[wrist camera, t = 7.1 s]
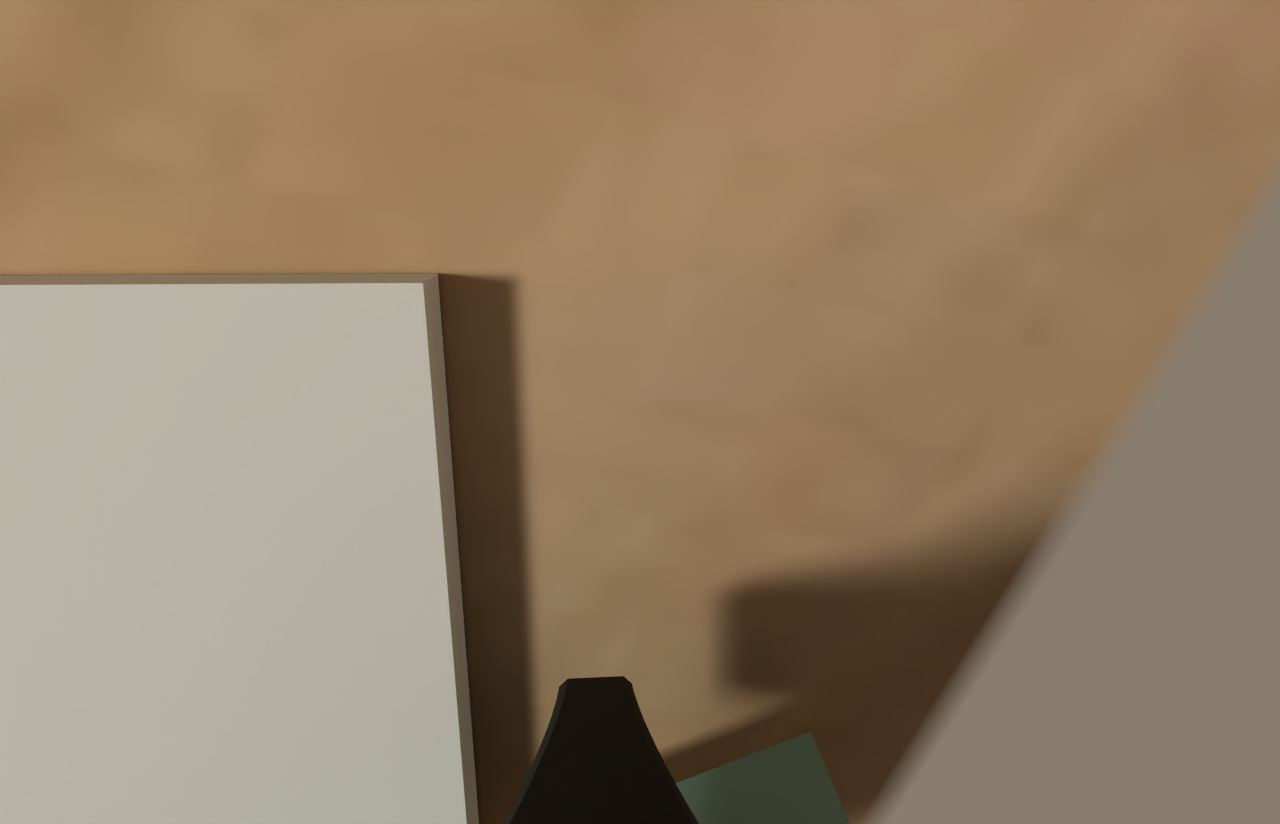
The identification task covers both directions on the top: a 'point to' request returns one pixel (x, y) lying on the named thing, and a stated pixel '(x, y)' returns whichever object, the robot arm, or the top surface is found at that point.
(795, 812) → the bar
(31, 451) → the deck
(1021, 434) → the top surface
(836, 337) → the top surface
